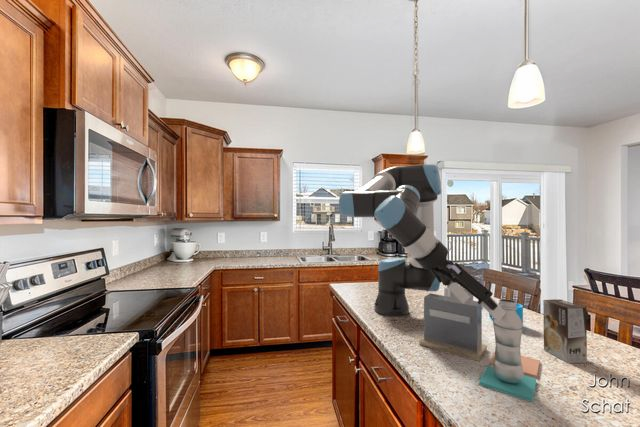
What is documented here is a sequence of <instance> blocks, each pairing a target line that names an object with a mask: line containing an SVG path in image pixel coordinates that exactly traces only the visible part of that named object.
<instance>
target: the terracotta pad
mask: <svg viewBox="0 0 640 427" xmlns="http://www.w3.org/2000/svg"><path fill="white" fill-rule="evenodd" d="M494 358H495V351H494V353H493V355H492V356H491V358H490V360H489V362H488V365H490V366H493V362H494ZM521 362H522V366H523V372H524V375H525V376H529V377H532V378H536V380H537V379H538V374H539V369H540V363H541V362H540V359H536V358H534V357H528V356H526V355H521Z"/></svg>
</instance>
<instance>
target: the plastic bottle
mask: <svg viewBox="0 0 640 427" xmlns="http://www.w3.org/2000/svg"><path fill="white" fill-rule="evenodd" d="M498 301H499V302H498V305H499V306H500V307H501V308H502V309H503V310H504V311H505V312H506V314H505V315H504V316H503V317H502V318H501V319H500V321H499V322H498V321H496V320H495V319H494V318H493V320H492V324H493V331H494V340H495V341H494V342H495V348H494V352H495V358H494V362H493V370H494V373H495V375H496V377H497V378H499V379H500V380H502V381H504V382H507V383H512V384H518V383H520V382H521V381H522V380H523V376H524V372H523V366H522V362H521V356H522V355H521V354H522V353H521V345H522V344H521V343H522V341H521V340H522V335H523V334H522V333H523V329H524V322H523V323H522V320H521V319H520V317H519V316H518V314H517V313H516V312H515V310H517V307H516V303H517V301H516V300H512V299H506V298H499V300H498Z"/></svg>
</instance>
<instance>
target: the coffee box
mask: <svg viewBox="0 0 640 427" xmlns="http://www.w3.org/2000/svg"><path fill="white" fill-rule="evenodd" d="M542 302H543V303H542V304H543V312H542V313H543V350H544V351H545V352H547V353H549V354H551V355H553V356H554V357H556V358H558V359H560V360H561V361H564V362H566V363H567V364H577V363H578V364H582V363H585V364H586V363H588V348H587V347H588V344H587V343H588V340H587V339H588V337H587V335H588V334H587V332H588V330H587V327H588V326H587V323H588V322H587V320H588V319H587V307H586V306H582V305H579V304H576V303H573V302H569V301H565V300H563V299H557V298H556V299H553V298H552V299H544V300H542Z"/></svg>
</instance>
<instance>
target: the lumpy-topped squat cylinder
mask: <svg viewBox="0 0 640 427" xmlns="http://www.w3.org/2000/svg"><path fill="white" fill-rule="evenodd" d="M459 286H460V285H459ZM460 287H461V286H460ZM443 288H444V290H443V292H444V293H443V294H444V295H443V296H448V297H454V298H457V297H456V296H455V295H454V294H453V293H452V292H451V291H450V290H449V289H448V288H447V285H446V286H445V285H444V287H443ZM461 288H462V289H463V290H464V291H465V292H466V293H467V294H468V295H469V296H470V298H469V299H468V300H472V301H474V296H473V295H472V294H470V293H469V292H468V291H467V290H465V289H464V288H463V287H461Z"/></svg>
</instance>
